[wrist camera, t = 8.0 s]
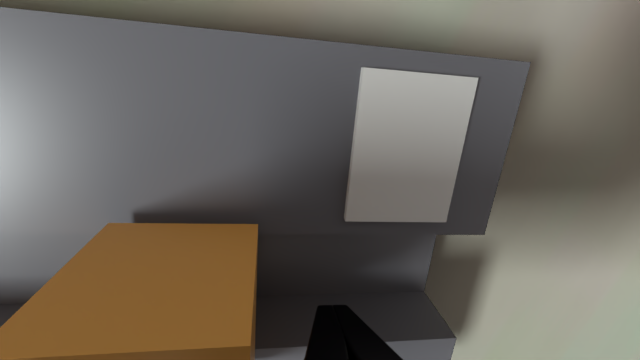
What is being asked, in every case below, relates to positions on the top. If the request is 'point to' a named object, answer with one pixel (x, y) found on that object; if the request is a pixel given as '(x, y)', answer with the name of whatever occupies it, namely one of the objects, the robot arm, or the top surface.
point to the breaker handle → (145, 297)
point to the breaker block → (252, 160)
